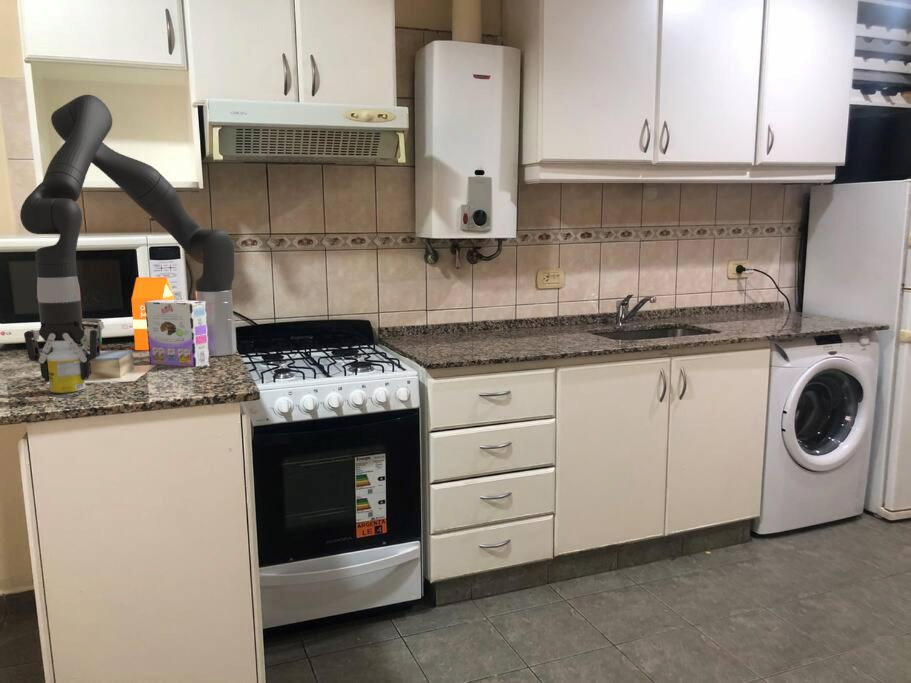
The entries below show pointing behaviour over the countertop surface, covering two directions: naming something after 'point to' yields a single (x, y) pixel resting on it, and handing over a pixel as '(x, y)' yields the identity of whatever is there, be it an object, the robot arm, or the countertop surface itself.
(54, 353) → the pill bottle
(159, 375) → the countertop surface
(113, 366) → the plinth
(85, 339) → the food container
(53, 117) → the robot arm
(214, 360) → the countertop surface
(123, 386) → the countertop surface
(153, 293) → the orange juice
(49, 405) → the countertop surface
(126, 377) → the baseplate
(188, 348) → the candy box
